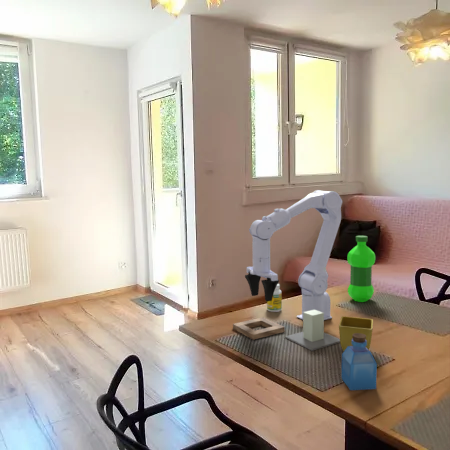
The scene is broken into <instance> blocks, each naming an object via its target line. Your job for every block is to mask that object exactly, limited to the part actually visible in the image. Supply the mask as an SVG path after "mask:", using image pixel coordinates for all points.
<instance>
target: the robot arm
mask: <svg viewBox="0 0 450 450" xmlns="http://www.w3.org/2000/svg"><path fill="white" fill-rule="evenodd" d="M343 203H344V202H343V200H342V197H341V196H340V194H339V193H338V192H336V191H333V190H331V191H330V190H329V191H327V190H320V189H316V190H314V191H313V192H310V193H308V194H307V195H306V196H305V197H303V198H302V199H300V200H299V201H297V202H295V203H294V204H292V205H291V206H289V207H288V208H286V209H285V208H274V209H273V212H272V213H270V214H268V215H264V216H262V219H256V220H254V221H253V222H251V223H252V224H250V228H248V231H249V234H250V235H251V238H252V243H251V245H252V246H251V247H252V266H246V273H247V274H245V275H244V277H245V279H246V281H247V283H248V286H249V291H250V293H251V294H250V295H251V296H252V297H257V296H258V295H259V291H260V290H259V289H260V281H261V284H262V286H263V290H264V300H265V302H266V303H267V302H268V301H272V298H273V294H274V291H275V288H276V286H277V284H280V280H279V275H278V273H276V272H274V271H272V270H271V238H272V236H273V235H274V233H275V232H277V231H279V230H280V229H283V228H284V227H286V226H288V225H289V224H290V223H291V220H292V219H293V218H294V217H296V216H298V215H300V214H302V213H304V212H306V211H308V210H309V209H315V210H316V211H317V212H319V214H320V216H321V218H322V219H323V221H322V224H321V227H320V231H319V234H318V236H317V241H316V243H315V246H314V249H313V252H312V256H311V257H310V258H311V259H310V262H309V264H307V265H306V266H304V267H303V268H304V269H303V271H302V273H300V274H299V276H298V281H297V283H298V286H299V287H300V289H301V314H298V315H296V318H299V319H300V320H302V321H303V312H306V311H311V310H317V311H320V312H323V313H324V321H326V320H330V319H332V318H333V317H332V316H331V297H330V295H329V293H328V292H327V289H328V279H329V273H328V272H327V265H328V261H329V259H330V256H331V252H332V250H333V246H334V243H335V240H336V237H337V234H338V231H339V227H340V224H341V220H342V211H341V210H342V208H341V207H342V205H343ZM261 277H262V278H265V279H262V280H261Z"/></svg>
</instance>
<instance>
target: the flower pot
mask: <svg viewBox="0 0 450 450" xmlns="http://www.w3.org/2000/svg"><path fill="white" fill-rule="evenodd" d="M373 326H374V319H373V318H372V319H371V318H365V317H354V316H343V315H342V316H340V320H339V324H338V330H339V331H338V333H339V334H338V335H339V339H340V343H339V344H340V346H341V350H342V351H343V352H344V351H345V349H346V348H347V347H348V346H353V345H352V339H353V336H352V335H353V334H354V333H361V334H365V335H366V339H365V340H366V341H367V345H366V346H365V347H366V348H367V349H368V350H369V351H370V348H371V343H372V335H373V328H374V327H373Z"/></svg>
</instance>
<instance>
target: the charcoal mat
mask: <svg viewBox="0 0 450 450" xmlns="http://www.w3.org/2000/svg"><path fill="white" fill-rule="evenodd" d="M285 339H286V340H288V341H291V342H292V343H294V344H297V345H298V346H302V347H303V348H305V349H308V350H309V351H316V350H319V349H323V348H326V347H330V346H333V345H337V344H341V343H340V338H338V337H336V336H334V335H332V334H330V333H326V332H324V339H321V340H317V341H314V342H311V341H309V340H307V339H305V338H303V331H300V332H296V333H292V334H289V335H286V336H285Z"/></svg>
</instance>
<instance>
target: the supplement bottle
mask: <svg viewBox="0 0 450 450" xmlns="http://www.w3.org/2000/svg"><path fill="white" fill-rule="evenodd" d="M280 287H281V284H280V283H278V284H277V286H276V288H275V291H274V294H273V298H272V301H268V302H267V301H266V310H267V311H268V312H271V313H278V312H281V311H282V309H283V307H282V301H283V299H282V290H281V289H280Z"/></svg>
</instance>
